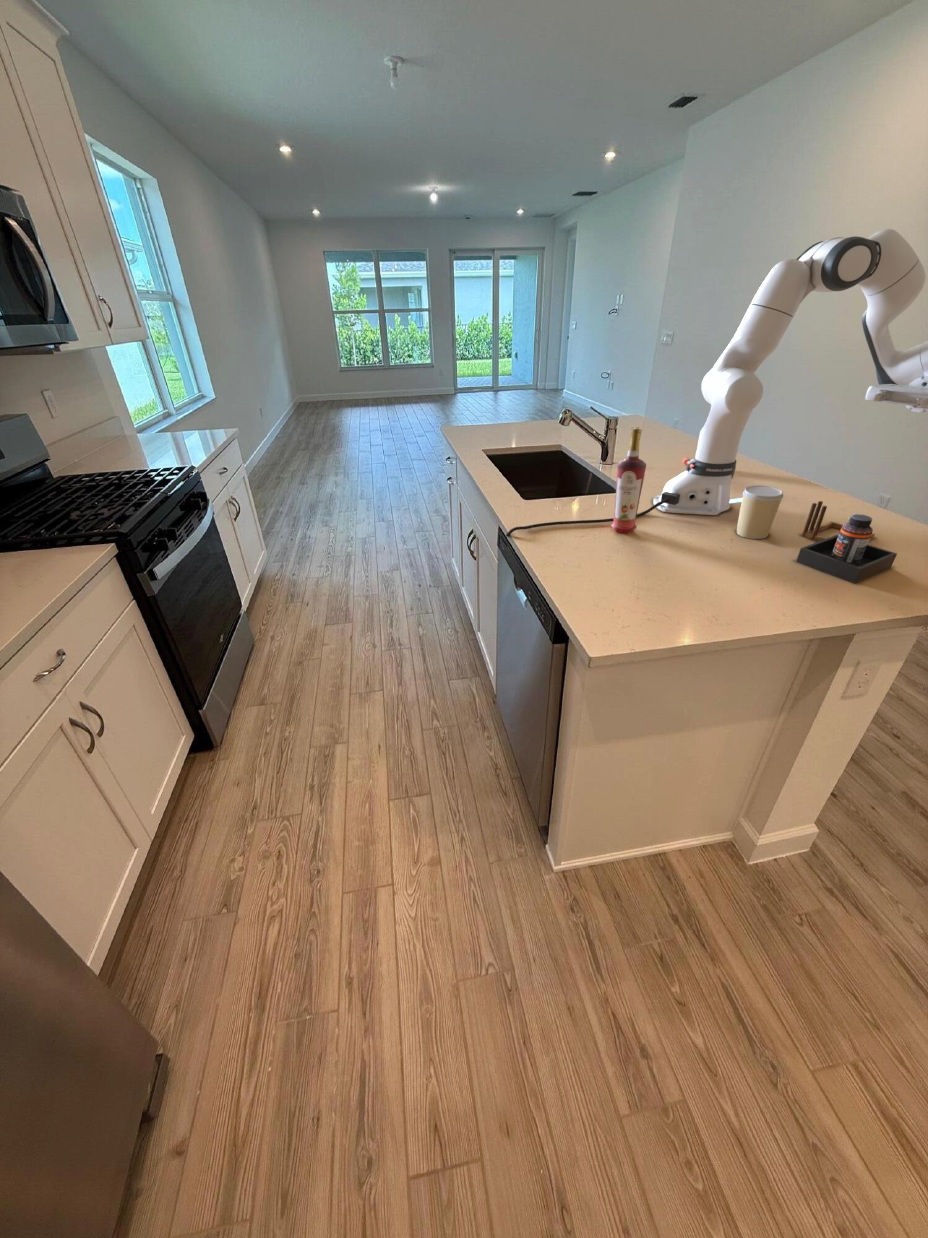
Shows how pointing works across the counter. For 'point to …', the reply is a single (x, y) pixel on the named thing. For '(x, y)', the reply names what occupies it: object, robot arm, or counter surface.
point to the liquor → (629, 486)
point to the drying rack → (818, 523)
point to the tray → (822, 560)
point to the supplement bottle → (853, 539)
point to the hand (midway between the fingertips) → (897, 399)
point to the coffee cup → (758, 511)
